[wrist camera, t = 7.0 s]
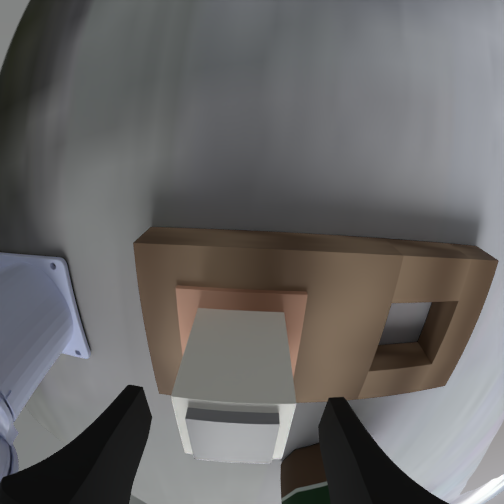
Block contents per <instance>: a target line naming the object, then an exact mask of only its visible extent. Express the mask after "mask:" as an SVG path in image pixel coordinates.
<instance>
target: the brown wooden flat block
mask: <svg viewBox="0 0 504 504" xmlns="http://www.w3.org/2000/svg"><path fill="white" fill-rule="evenodd" d="M133 245H134V255H135V264H136V272H137V280H138V287H139V294H140V301H141V307H142V313H143V319H144V325H145V330H146V336H147V341H148V346H149V351H150V356H151V361H152V365H153V370H154V374H155V378H156V383H157V387H158V391H159V394H166V395H172V391H173V388H174V384H175V381H176V378H177V374H178V371H179V368H180V364H181V361H182V358H183V354H184V351H185V348H186V345H187V341H188V338H189V335H190V332H191V328H192V325H193V322H194V319H195V316H196V313H197V310H198V308H207V309H223V310H241V311H263V312H284V315H285V322H286V329H287V337H288V344H289V351H290V359H291V366H292V374H293V382H294V389H295V397H296V403H305V402H327V401H328V398H333V397H344V398H345V399H346V400H355V399H365V398H374V397H383V396H390V395H397V394H404V393H410V392H416V391H421V390H427V389H432V388H437V387H441V386H445V385H446V383H447V381H448V379H449V378H450V376H451V374H452V372H453V370H454V369H455V367H456V365H457V363H458V361H459V359H460V357H461V355H462V353H463V351H464V349H465V347H466V345H467V343H468V341H469V338H470V336H471V334H472V332H473V329H474V327H475V325H476V323H477V320H478V318H479V315H480V313H481V310H482V308H483V305H484V303H485V300H486V297H487V295H488V292H489V289H490V286H491V283H492V280H493V277H494V274H495V271H496V267H497V264H498V260H497V259H495V258H494V257H492V256H491V255H489V254H488V253H486V252H485V251H483V250H482V249H480V248H479V247H477V246H472V245H461V244H449V243H437V242H425V241H412V240H399V239H385V238H371V237H356V236H340V235H324V234H306V233H288V232H268V231H247V230H224V229H198V228H169V227H150V228H149V229H148V230H147V231H146V232H145V233H144V234H143V235H141V236H140V237H139V238H138V239H137V240H136V241H135V242H134V243H133ZM417 302H432V304H431V307H430V310H429V313H428V316H427V319H426V321H425V324H424V327H423V329H422V332H421V335H420V337H419V340H418V342H411V343H399V344H385V345H378V344H379V341H380V338H381V335H382V332H383V329H384V326H385V323H386V320H387V317H388V313H389V310H390V307H391V303H417Z"/></svg>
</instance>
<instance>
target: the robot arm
mask: <svg viewBox="0 0 504 504" xmlns="http://www.w3.org/2000/svg"><path fill="white" fill-rule="evenodd" d="M53 263H54V264H55V265H56V267H55V266H54V264H53ZM61 353H64V354H68V355H72V356H76V357H80V358H84V359H88V358H89V357H90V355H91V352H90V349H89V346H88V343H87V340H86V337H85V333H84V330H83V327H82V323H81V320H80V316H79V313H78V309H77V305H76V301H75V297H74V293H73V289H72V285H71V280H70V276H69V271H68V266H67V263H66V261H65V260H64V259H63V258H61V257H50V256H38V255H25V254H13V253H2V252H0V504H129V500H130V495H131V489H132V485H133V481H134V478H135V475H136V472H137V469H138V466H139V463H140V460H141V457H142V454H143V451H144V448H145V445H146V442H147V439H148V435H149V430H150V425H151V420H152V415H151V412H150V409H149V406H148V403H147V400H146V396H145V393H144V390H143V387H139V386H134V385H128V386H126V388H125V389H124V390H123V391H122V392H121V393H120V394H119V395H118V397H117V398H116V399H115V400H114V401H113V402H112V403H111V404H110V405H109V407H108V408H107V409H106V410H105V411H104V412H103V413H102V414H101V415H100V416H99V417H98V418H97V419H96V420H95V421H94V422H93V423H92V424H91V425H90V426H89V427H88V428H86V429H85V430H84V431H83V432H82V433H81V434H80V435H79V436H78V437H76V438H75V439H74V440H73V441H71V442H70V443H69V444H67V445H66V446H65V447H63V448H62V449H61V450H59V451H58V452H56V453H54V454H53V455H51V456H50V457H49V458H47V459H45V460H43V461H41V462H39V463H37V464H35V465H33V466H31V467H29V468H27V469H24V470H22V471H19V472H18V469H19V465H18V457H17V453H16V449H15V447H14V445H13V442H14V440H15V438H16V436H17V435H18V431H17V430H16V429H15V427H14V425H13V422H14V421H15V420H16V418H17V417H18V415H19V413H20V412H21V410H22V409H23V407H24V406H25V404H26V403H27V401H28V400H29V398H30V397H31V395H32V394H33V392H34V391H35V389H36V388H37V386H38V385H39V383H40V382H41V380H42V379H43V378H44V376H45V375H46V373H47V372H48V371H49V369H50V368H51V366H52V365H53V364H54V362H55V361H56V359H57V358H58V357H59V355H60V354H61ZM318 428H319V441H320V450H321V455H322V460H323V465H324V470H325V474H326V479H327V484H328V489H329V495H330V503H331V504H449V503H447V502H445V501H443V500H441V499H439V498H438V497H436V496H435V495H433V494H431V493H430V492H428V491H427V490H425V489H424V488H423V487H421V486H420V485H419V484H417V483H416V482H415V481H413V480H412V479H411V478H410V477H409V476H407V475H406V474H405V473H404V472H403V471H402V470H401V469H400V468H399V467H398V466H397V465H395V464H394V462H393V461H392V460H391V459H390V458H389V457H388V456H387V455H386V454H385V453H384V452H383V450H382V449H381V448H380V447H379V446H378V444H377V443H376V442H375V441H374V439H373V438H372V437H371V435H370V434H369V433H368V431H367V430H366V429H365V427H364V426H363V425H362V423H361V422H360V420H359V419H358V417H357V416H356V414H355V413H354V411H353V410H352V408H351V407H350V405H349V404H348V402H347V400H346V399H345V398H344V397H333V398H328V401H327V404H326V407H325V410H324V413H323V415H322V418H321V421H320V424H319V426H318Z"/></svg>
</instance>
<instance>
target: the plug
mask: <svg viewBox="0 0 504 504" xmlns="http://www.w3.org/2000/svg"><path fill="white" fill-rule="evenodd" d="M171 398H172V403H173V407H174V412H175V416H176V420H177V424H178V428H179V432H180V436H181V440H182V444H183V447H184V451H185V453H187V454H193V456H194V459H198V460H207V461H217V462H231V463H252V464H271V462H272V459H282V456H283V453H284V449H285V446H286V442H287V438H288V435H289V431H290V427H291V423H292V419H293V415H294V411H295V407H296V397H295V389H294V382H293V374H292V366H291V359H290V351H289V344H288V337H287V329H286V322H285V315H284V312H263V311H241V310H223V309H207V308H198V310H197V313H196V316H195V319H194V322H193V325H192V328H191V332H190V335H189V338H188V341H187V345H186V348H185V351H184V354H183V358H182V361H181V364H180V368H179V371H178V374H177V378H176V381H175V384H174V388H173V391H172V395H171Z"/></svg>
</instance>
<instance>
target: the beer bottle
mask: <svg viewBox="0 0 504 504" xmlns="http://www.w3.org/2000/svg"><path fill="white" fill-rule="evenodd" d="M281 499H282V504H331V503H330V495H329V489H328V484H327V479H326V474H325V470H324V465H323V460H322V455H321V450H320V443H318V444H314V445H311V446H307V447H303V448H299V449H295V450H294V451H293V452H292V453H291V454H290V455H289V456H288V457H287V458H286V459H285V460H284V461H283V462H282V464H281Z"/></svg>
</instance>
